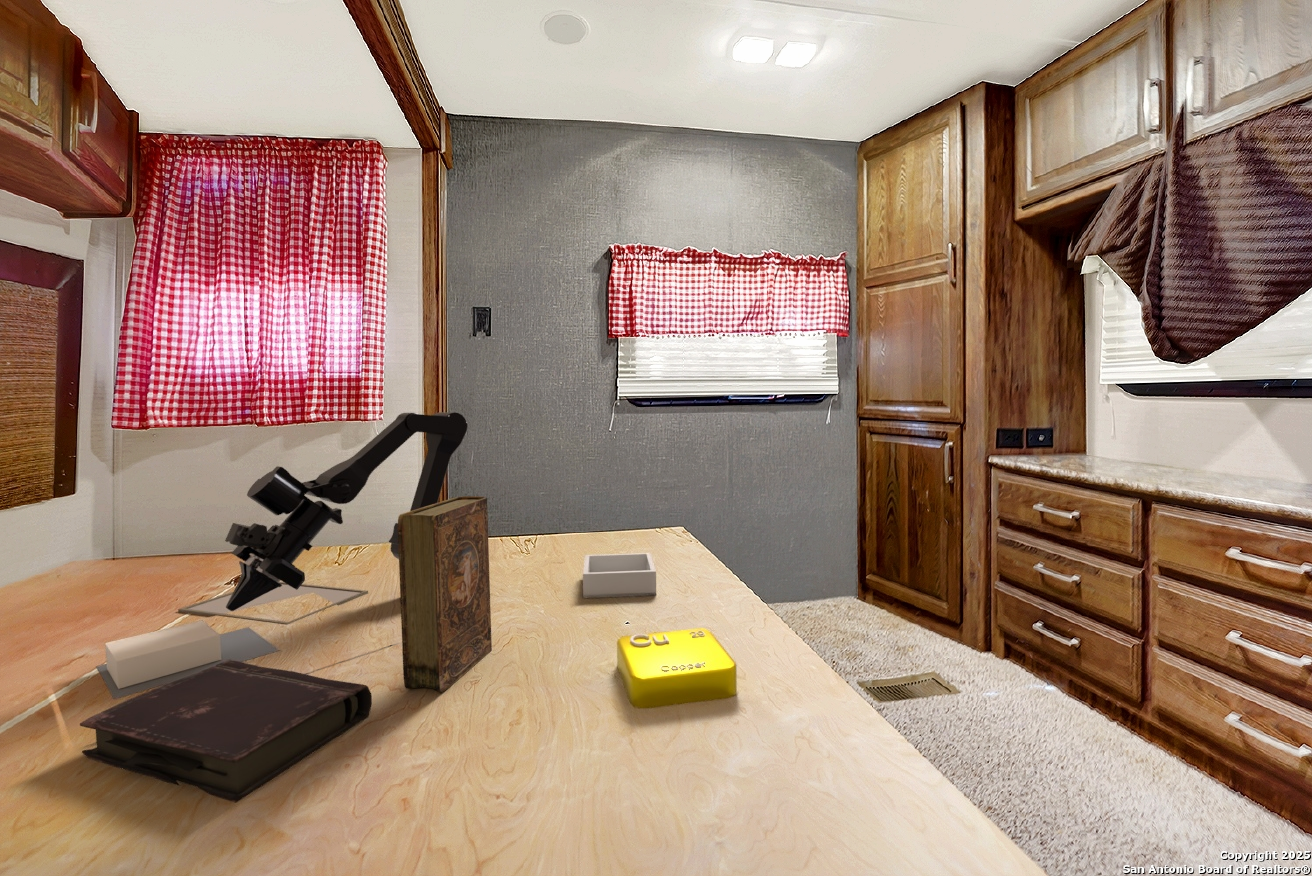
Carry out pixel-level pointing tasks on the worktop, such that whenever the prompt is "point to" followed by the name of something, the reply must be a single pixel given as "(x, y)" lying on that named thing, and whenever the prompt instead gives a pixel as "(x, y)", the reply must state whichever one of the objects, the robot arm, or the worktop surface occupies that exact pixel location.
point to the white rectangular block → (161, 653)
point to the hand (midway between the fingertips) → (228, 609)
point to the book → (444, 591)
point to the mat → (233, 647)
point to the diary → (227, 726)
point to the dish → (619, 575)
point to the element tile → (675, 668)
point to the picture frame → (284, 592)
